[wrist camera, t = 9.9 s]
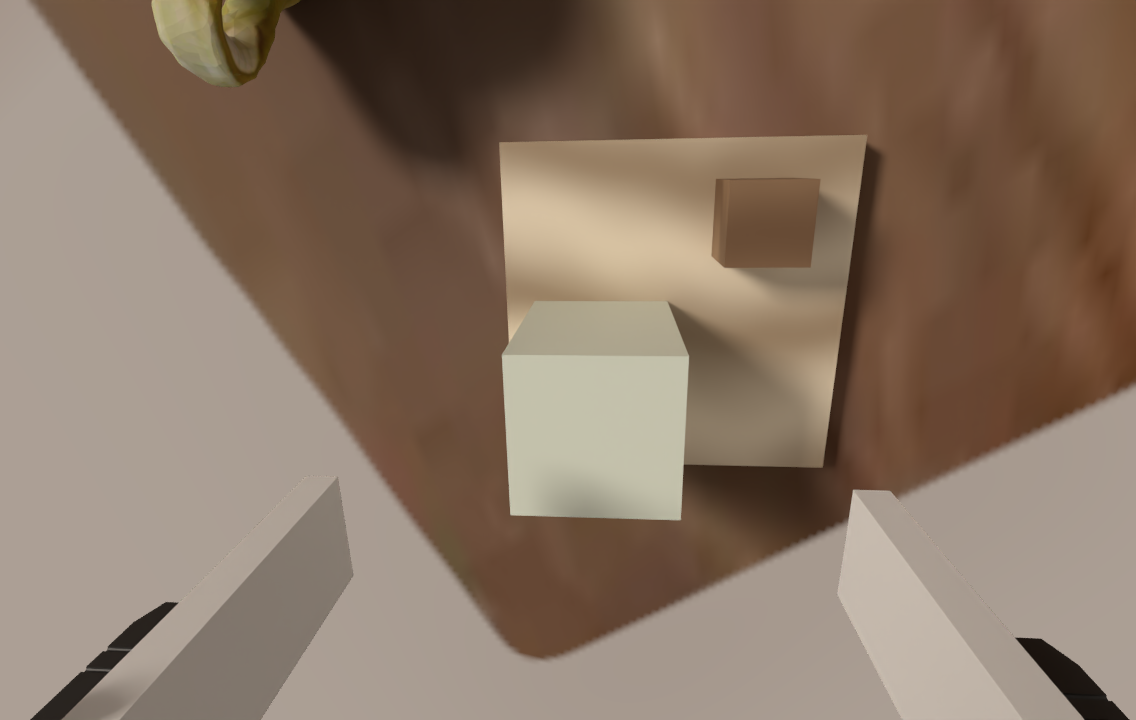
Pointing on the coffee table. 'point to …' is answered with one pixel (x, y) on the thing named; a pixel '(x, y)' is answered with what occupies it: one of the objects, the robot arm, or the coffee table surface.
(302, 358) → the coffee table surface
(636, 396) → the pale green block
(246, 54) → the mug
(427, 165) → the coffee table surface
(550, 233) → the board
